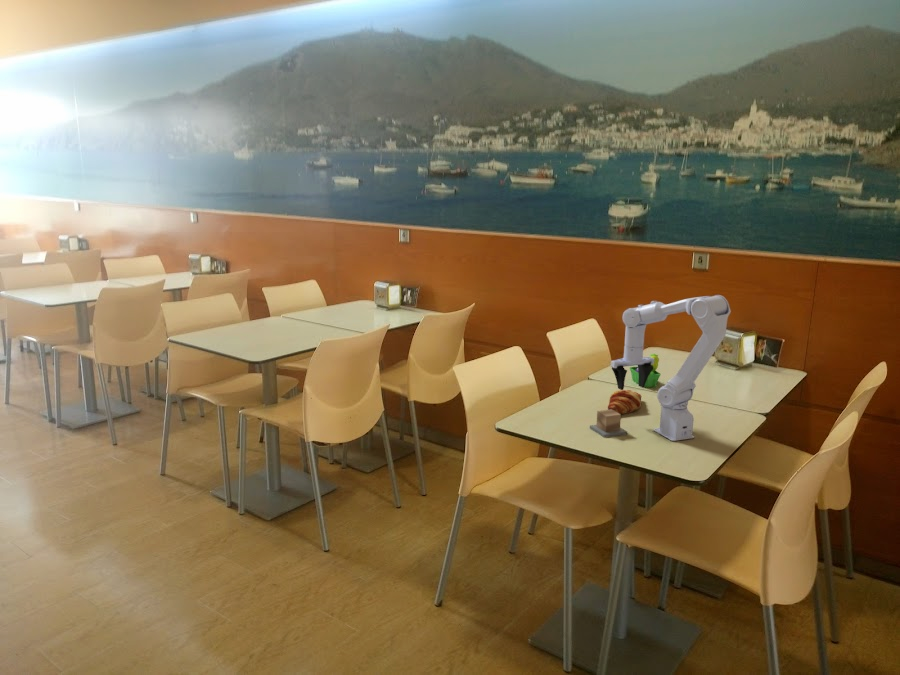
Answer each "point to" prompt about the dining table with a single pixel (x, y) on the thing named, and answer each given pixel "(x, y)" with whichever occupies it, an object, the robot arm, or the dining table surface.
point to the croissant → (624, 401)
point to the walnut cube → (608, 420)
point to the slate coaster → (608, 434)
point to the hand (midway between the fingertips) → (631, 387)
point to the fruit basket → (652, 376)
